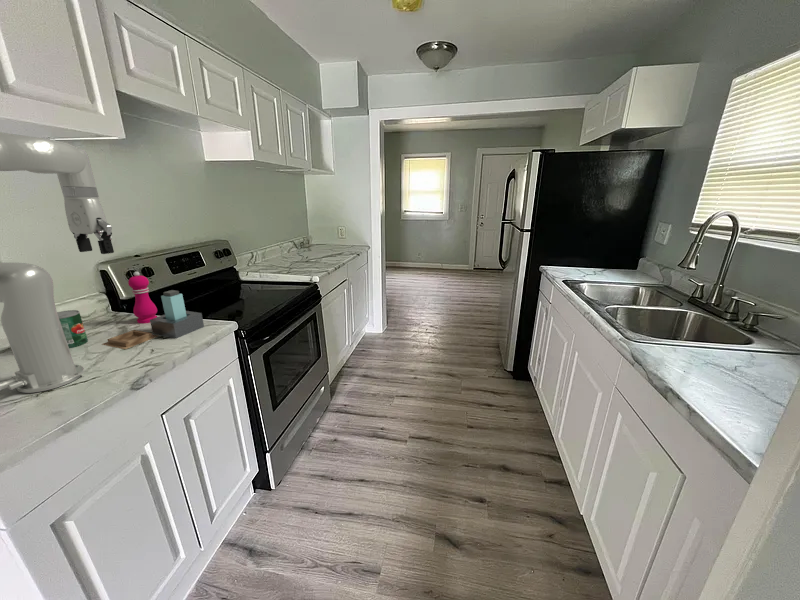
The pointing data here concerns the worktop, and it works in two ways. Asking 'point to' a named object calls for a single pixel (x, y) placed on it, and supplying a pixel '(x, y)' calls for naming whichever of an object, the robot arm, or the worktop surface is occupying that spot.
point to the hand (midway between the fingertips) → (96, 252)
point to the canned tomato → (72, 328)
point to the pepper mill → (142, 299)
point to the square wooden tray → (129, 339)
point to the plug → (173, 305)
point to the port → (177, 325)
